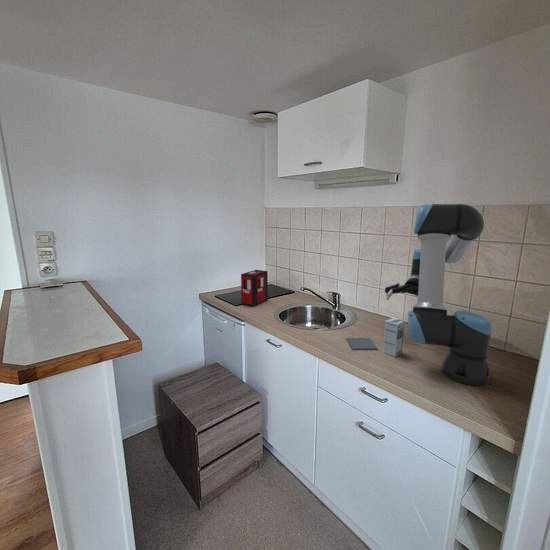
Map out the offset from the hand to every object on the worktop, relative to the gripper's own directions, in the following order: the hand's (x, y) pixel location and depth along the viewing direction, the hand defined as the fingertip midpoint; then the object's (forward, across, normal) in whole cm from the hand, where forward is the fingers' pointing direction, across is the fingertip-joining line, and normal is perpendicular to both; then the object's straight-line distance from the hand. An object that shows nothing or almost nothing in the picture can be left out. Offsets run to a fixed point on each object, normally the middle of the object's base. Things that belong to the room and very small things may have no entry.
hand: (403, 300), depth 134 cm
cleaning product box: (-8, +92, -26) cm, 95 cm away
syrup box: (+12, 0, -20) cm, 23 cm away
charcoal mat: (+12, +13, -20) cm, 27 cm away
